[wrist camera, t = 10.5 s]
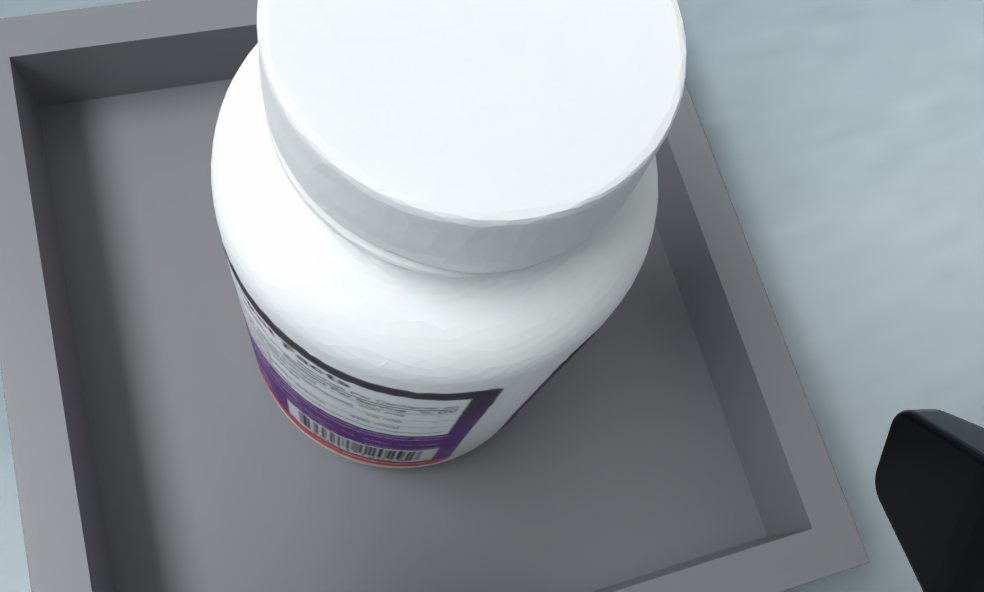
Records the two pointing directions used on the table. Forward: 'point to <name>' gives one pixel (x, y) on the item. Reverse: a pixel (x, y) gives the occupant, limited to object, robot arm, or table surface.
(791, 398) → the tray
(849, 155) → the table surface
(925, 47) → the table surface
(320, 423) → the pill bottle
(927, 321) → the table surface
